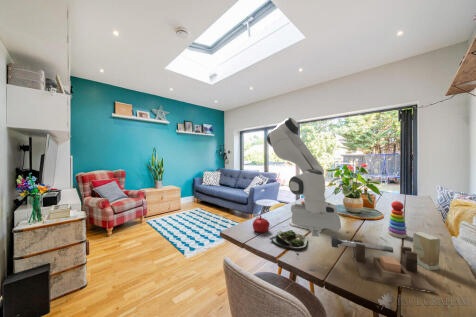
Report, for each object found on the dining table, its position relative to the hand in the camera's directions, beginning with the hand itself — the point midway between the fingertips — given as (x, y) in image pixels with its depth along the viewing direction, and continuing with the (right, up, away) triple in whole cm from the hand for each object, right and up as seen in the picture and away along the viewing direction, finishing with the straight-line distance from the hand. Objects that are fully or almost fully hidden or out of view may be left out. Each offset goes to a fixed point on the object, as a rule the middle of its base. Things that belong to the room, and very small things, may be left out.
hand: (315, 235), depth 79 cm
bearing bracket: (+22, -8, -13) cm, 26 cm away
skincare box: (+40, -8, -9) cm, 42 cm away
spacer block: (+21, -7, -15) cm, 27 cm away
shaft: (+16, -3, -6) cm, 17 cm away
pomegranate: (-21, -8, +25) cm, 34 cm away
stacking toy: (+53, -8, +17) cm, 56 cm away
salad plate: (-8, -9, +12) cm, 17 cm away
